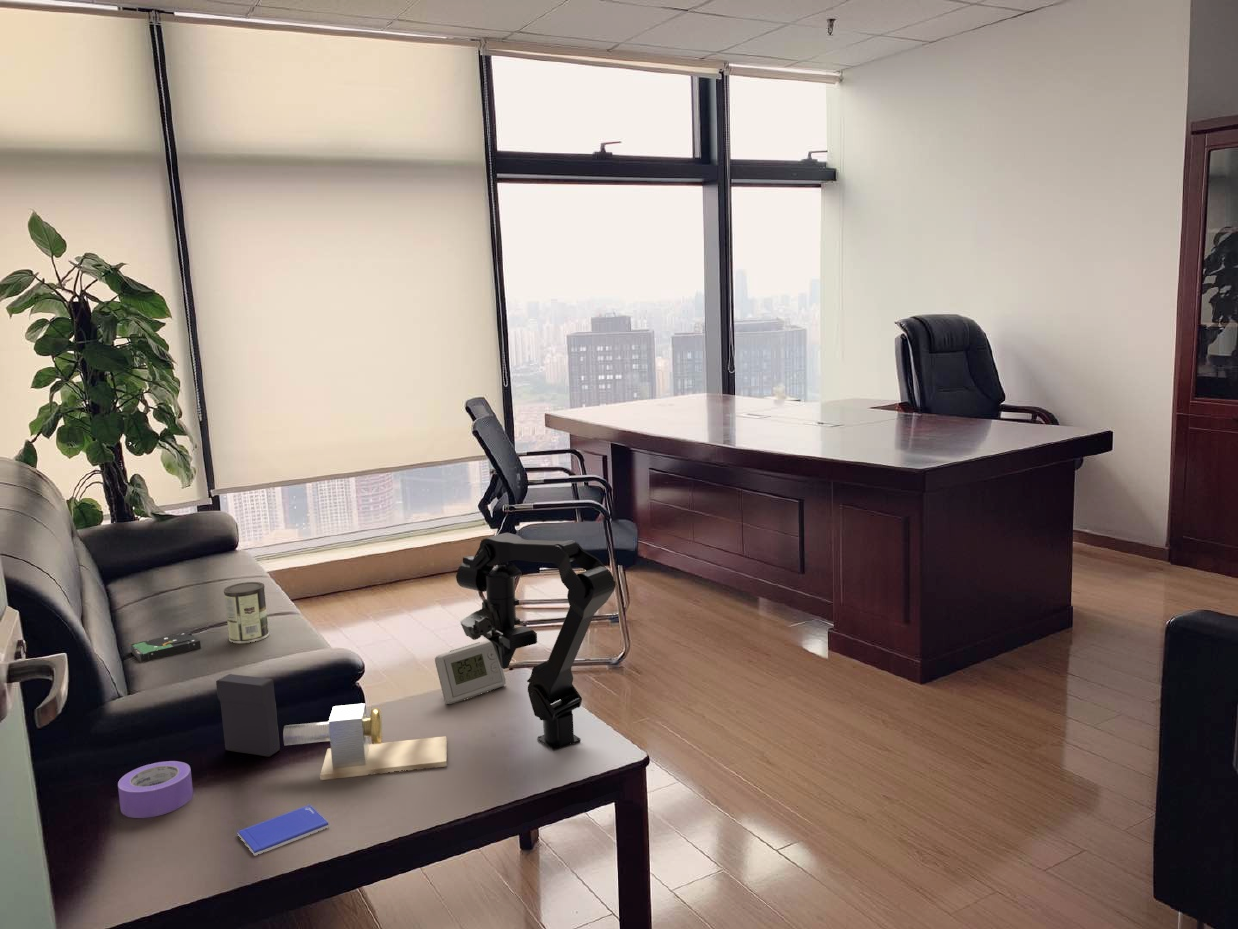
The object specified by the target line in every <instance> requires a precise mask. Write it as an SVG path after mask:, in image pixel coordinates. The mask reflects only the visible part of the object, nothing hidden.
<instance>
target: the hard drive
mask: <svg viewBox="0 0 1238 929" xmlns="http://www.w3.org/2000/svg"><path fill="white" fill-rule="evenodd" d="M325 828H327V829H328V828H330V824H329V821H328V820H327V819H325V817H324V816H323V815H321V814H320V813H319V812H318V811H317V810H316V809H315V808H314V807H313V806H312V805H311V804H308V805H305V806H302V807H299V808H298V809H297V808H296V809H294V810H292V811H289V812H286V813H284V814H280V815H279V816H275V817H273V818H270V819H267V820H265V821H261V822H259V823H256V824H253V825H251V826H248V827H246V828H244V829H243V828H242V829H241V830H238V831H237V833H236V834H238V835H237V837H238V836H239V837H240V838H241V839H240V838H239V837H238V838H239V839H240V841H243V842H244V843H245V844H244V843H243V842H242V843H243V844H244V845H245V847H246V848H247V847H248V848H249V849H248V848H247V849H248V850H249V851H250V852H251V853H253V854H252V855H253V856H254V857H256V856H258V854H259V855H261V854H263V852H264V853H266V852H269V851H271V850H275V849H277V848H280V847H282V846H284V845H287V844H289V843H292V842H295V841H297V840H300V839H304V838H305V837H308V836H310V834H311V835H314V834H316V833H319V832H321V831H324V830H326V829H325ZM323 829H324V830H323ZM318 831H319V832H318Z"/></svg>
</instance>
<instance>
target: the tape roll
mask: <svg viewBox="0 0 1238 929" xmlns="http://www.w3.org/2000/svg"><path fill="white" fill-rule="evenodd" d="M117 789H118V798H119V806H120V807H119V808H120V812H121V814H122V815H123V816H125V817H128V818H135V819H147V818H155V817H158V816H164V815H165V814H169V813H172V812H174V811H176V810H178V809H180V808H182V807H184V806H185V805H186V804H188V803H189V801H191V800H192V798H193V796H194V791H193V790H194V789H193V780H192V771H191V766H190V765H189V764H188V763H186V762H183V761H177V760H169V761H158V762H154V763H151V764H150V763H148V764H146V765H143V766H140V767H137V768H135V769H132V770H131V771H129V772H127V773H125V774H124V775H122V777H121V778H120V779H119V781H118V782H117Z"/></svg>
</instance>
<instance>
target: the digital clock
mask: <svg viewBox="0 0 1238 929" xmlns="http://www.w3.org/2000/svg"><path fill="white" fill-rule="evenodd" d="M434 663H435V668H436V672H437V676H438V680H439V683H440V687H441V688H440V689H441V691H442V692H441V693H442V696H443V700H444V702H445V704H448V705H453V704H456V703H457V702H461V701H460V700H464V699H467V698H470V699H472V698H471V697H473V698H475V697H474V696H476V695H479V694H481V693H485V692H487V691H490V692H492V691H491V690H493V689H494V690H495V689H498V688H502V687H504V686H505V685H506V677H505V673H504V672H505V671H504V669H503V668H501V665H500V663H499V660H498V657H497V654H496V651H495V649H494V646H493V644H492V642H491V641H489V640H488V639H487V640H484V641H482V642H480V641H479V642H475V643H471V644H469V645H465V646H462V647H458V648H455V649H452V650H449V651H448V652H445V653H442V654H438V655H436V657H435V658H434ZM494 690H493V691H494ZM487 693H488V692H487ZM485 694H486V693H485ZM479 696H480V695H479ZM476 697H477V696H476ZM467 700H468V699H467ZM464 701H465V700H464Z"/></svg>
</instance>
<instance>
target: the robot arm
mask: <svg viewBox="0 0 1238 929" xmlns="http://www.w3.org/2000/svg"><path fill="white" fill-rule="evenodd" d="M511 562H531V563H547V564H554V565H555V566H556V567H557V569H558V573H559V577H560V580H561V582H562V585H564V587H566V588H567V590H568V591H567V596H566V597H567V600H568V605H569V607H568V611H567V613H566V615H565V618H564V621H563V623H562V625H561V628H560V630H559V631H558V632H559V633H558V634H557V637H556V640H555V642H554V645H553V647H552V650H551V652H550V654H549V657H548V659H547V660H545V661H543V662H540V663H538V664H535V665H534V666H533V667H532V670H531V674H530V676H529V678H528V679H527V680H526V681H527V683H528V685H527V694H528V698H529V701H530V704H531V708H532V711H533V714H534V716H535V717H536V718H539V721H542V724H543V725H542V726H543V734H542V735H539V736H537V741H539V742H540V743H542V744H543V745H544V746H546V747H547V748H548V749H550V750H552V751H556V750H560V749H562V748H566V747H569V746H573V745H575V744H577V743H580V742H581V738H580V737H579V736H577V735H576V734H575V733H574V713H573V711H574V710H576V709H579V708H580V707H581V705H582V701H583V698H582V696H581V694H580V693H579V691H578V690H577V688H576V687H575V686H574V684H573V681H574V674H573V672H572V667H573V665H574V663H575V660H576V658H577V656H578V653H579V651H580V648H581V646H582V643H583V641H584V639H585V637H586V634H587V631H588V629H589V627H590V625H591V623H592V620H593V617H594V615H595V614H596V613H597V612H598V610H600V609H601V608H602V607H603V606H604V605H605V604H606V603H607V602H608V600H609V599H610V598H611V596H612V594H613V593H614V591H615V589H616V583H617V582H616V580H615V579H614V576H613V574H612V571H610V570H609V569H608V568H607V567H606V565H605V564H604V563H603V562H602V561H601V560H600V559H599V558H597V557H596V556H594V555H593V554H592V553H590V552H588V551H586V550H584V548H582V546H581V545H580V543H578V542H577V541H575V540H572V539H570V540H569V539H568V540H545V539H544V540H543V539H542V540H541V539H524V538H523V537H522V536H520V535H518V534H514V533H510V532H504V533H500V534H496V535H493V536H489V537H485V538H482V539H481V541H480V543H479V548H478V549H477V551H476V553H475V555H467V556H464V557H462V563H461V564H460V566H459V567H458V569H457V572H456V574H455V580H456V583H457V585H458V586H460V587H461V588H464V589H467V590H468V589H469V590H473V591H476V592H480V593H483V592H486V599H483V601H482V602H481V608H480V609H479V610H475V611H474V612H473V613H471V614H470V615H468V616H466V617H464V618H463V619H461V621H459V622H460V625H461V627H462V629H463V632H464V635H465V636H466V637H468V638H470V639H471V640H473V641H476V640H478V639H480V638H481V637H483V638H485V639H487V640H489V641H491V642H492V644H493V646H494V649H495V651H496V654H497V657H498V660H499V663H500V665H501V668H503V670H505V669H508V668H509V666H510V664H511V661H512V659H513V656H514V654H515V652H516V650H517V649H520V648H524V647H528V646H532V645H535V644H536V645H537V643H538V632H536V631H534V630H533V629H532V628H530V627H528V626H526V625H522V626H519V625H521V619H520V618H518V617H517V616H516V614H517V612H516V611H517V610H516V606H520V600H519V599H518V598H516V593H515V591H516V590H515V577H518V576H522V571H521V570H520V569H519V568H518V567H517V566H515V564H514V563H511ZM571 562H573V563H574V564H575V565H577V566H578V567H579V568H581V569H583V570H585V571H582V572H580V573H576V571H574V569H573V567H572V563H571ZM506 563H507V565H503V564H506ZM508 563H510V564H508ZM518 626H519V627H518Z"/></svg>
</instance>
